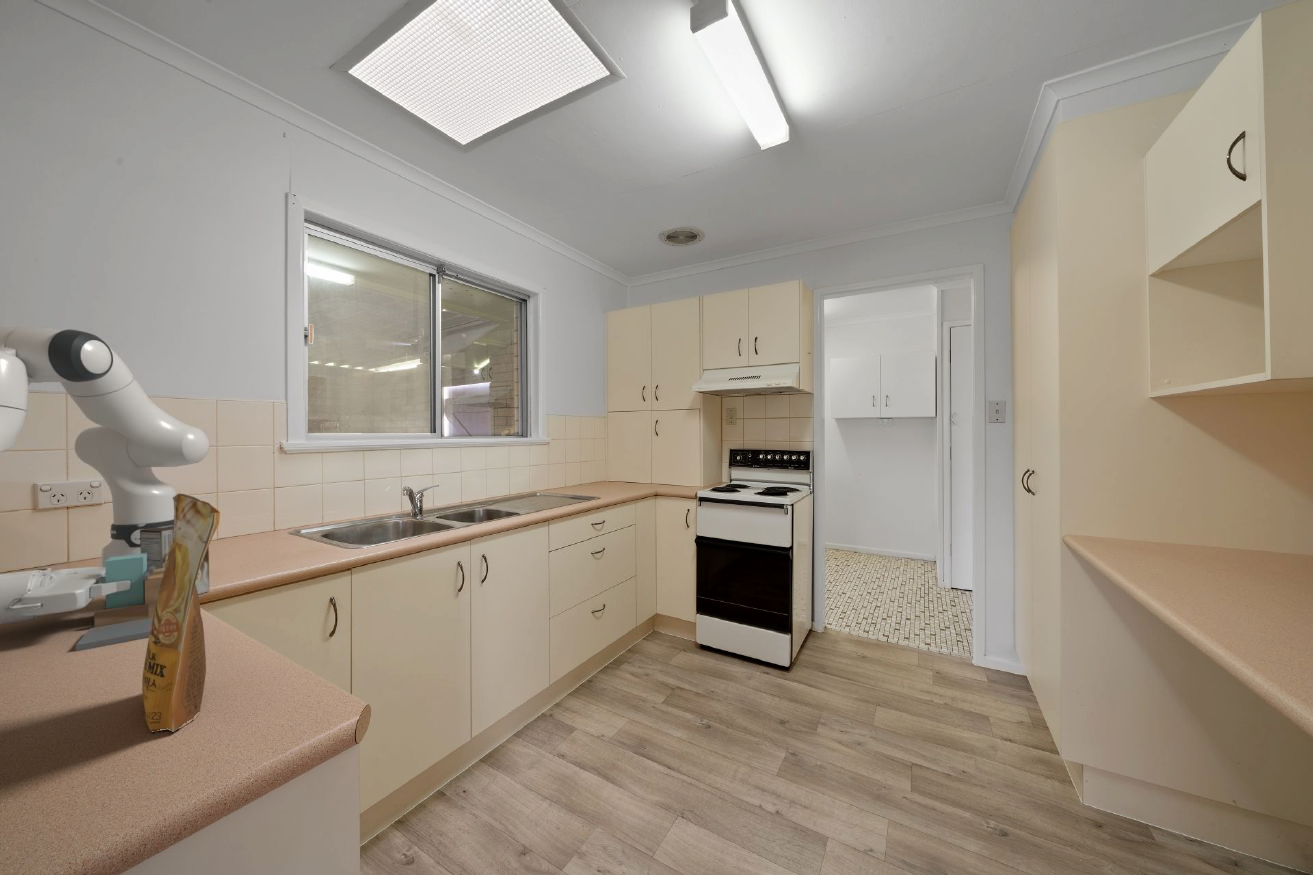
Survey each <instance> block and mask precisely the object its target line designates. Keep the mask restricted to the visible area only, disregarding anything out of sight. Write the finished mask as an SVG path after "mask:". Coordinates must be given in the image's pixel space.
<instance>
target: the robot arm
mask: <svg viewBox="0 0 1313 875" xmlns="http://www.w3.org/2000/svg"><path fill="white" fill-rule="evenodd" d="M32 383H34V384H35V383H37V384H38V383H39V384H41V383H60V384H61V386H62V387H63V389H64V390H65V391H66V393H67V394H68V395H69V396H70V398H71V399H72V400H73V402H74V404H75V405H76V406H77V407H78V408H79V409H80V411H81V412H82V413H83V415H84V416H85V417H86V418H87V419H88V420H89V421H91V422H93V423H94V424H97V425H98V426H92V427H89V428H86V429H84V430H82V431H80V433H79V434H78V435H77V438H75V441H74V452H75V454H76V455H77V456H76V457H78V458H79V459H80V460H81V461H82V462H83V463H84V464H86V465H89V466H90V467H91V468H93V469H95V471H97V473H99V475H101V477H102V478H103V480H104V481H105V482H106V485H107V486H108V488H109V491H110V494H111V499H112V514H113V516H112V517H113V523H112V524H111V525H110V530H109V532H110V539H111V541H110V542H109V543H108V544H107V545H105V546H104V547H102V549H101V555H100V556H101V557H100V558H101V559H100V566H88V567H87V566H85V567H84V566H83V567H75V568H72V567H71V568H61V569H55V570H52V568H51V567H43V568H38V569H32V570H25V571H24V570H23V571H16V572H7V573H0V625H4V624H11V623H17V622H24V621H30V620H34V619H37V618H38V617H39V616H43V615H51V614H57V613H58V614H59V613H60V614H61V613H65V612H72V611H78V610H81V609H84V608H86V607H87V605H88V604H90V603H91V602H92V601H93V600H94V598H96V597H101V596H102V597H103V596H106V595H107V594H110V593H114V592H118V591H125V590H128V589H130V587H131V580H129V579H128V580H120V581H117V582H112V583H106V569H105V561H106V560H108V559H109V558H110V557H117V556H126V555H135V554H141V549H140V530H142V529H149V528H155V527H161V526H167V525H174V501H173V497H174V496H176V495H177V492H176V489H175V488H174V487H173V485H171V484H169V483H168V482H167V483H166V482H164V481H162V480H160V479H159V478H158V477H157V476H156V475H155V474H154V472H153V469H152V468H169V467H171V468H173V467H176V468H177V467H181V466H189V465H193V464H198V463H200V462H202V461H203V460H204V459H205V458H206V457H207V455H208V453H209V452H210V451H209V450H210V447H211V446H210V440H209V438H208V436H207V435H206V433H205V432H204V431H203V430H202V429H200V428H199V427H195V426H193V425H190V424H189V423H188V424H187V423H185V422H182V421H181V420H179V419H177V418H175V417H174V416H172V415H170V414H169V413H168V412H166V411H165V410H163V409H162V408H160V406H158V405H157V404H155V402H154V401H153V400H152V399H151V398H150V397H149V396H148V395H147V393H146V392H145V390H144V389H143V388H142V386H141V385H140V383H139V382H138V380H137V379H136V378H135V375H133V373H132V371H131V369H129V367H128V366H127V365H126V363H125V362H124V360H123V359H121V357H120V356H119V355H118V353H116V352H115V351H114V349H112V348H111V347H110V346H109V345H108V344H107V343H106V342H105V341H104V340H103V339H102V338H100V337H99V336H97V335H96V334H93V333H89V332H86V331H83V330H77V329H60V328H54V327H43V326H23V327H22V326H7V327H6V326H4V327H3V326H0V454H2V453H5V452H6V451H7V450H9V449H11V448H12V447H14V445H15V444H16V442H17V441H18V439H19V437H20V435H21V432H22V431H23V428H24V425H25V421H26V417H27V416H26V415H27V410H28V409H27V408H28V403H29V386H30V385H31V384H32Z"/></svg>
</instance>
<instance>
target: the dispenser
mask: <svg viewBox="0 0 1313 875" xmlns="http://www.w3.org/2000/svg"><path fill="white" fill-rule="evenodd" d="M164 572H165V568H159V569H155V565H153V566H151V567H150V568H149V569H148V570H147V571H146V573H145V574H144V575H143V581H144V580H145V604H139V605H132V606H126V607H119V608H113V609H107V610H106V600H105V602H104V609H103V610H95V611H94V613H93V614H94V628H95V627H101V626H107V625H113V624H118V623H124V622H130V621H136V620H142V619H148V618H153V616H154V611H155V606H156V601H157V597H158V593H159V589H160V585H161V582H162V578H163V575H164Z"/></svg>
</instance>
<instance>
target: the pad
mask: <svg viewBox="0 0 1313 875" xmlns="http://www.w3.org/2000/svg"><path fill="white" fill-rule="evenodd" d="M152 621H153V618H148V619H142V620H136V621H130V622H124V623H118V624H113V625H107V626H101V627H95V626H94V627H91V628H88V630H87V631H86V633H85V634H84V635H83V636H82V637H81V638H80V640H79V641H77V643H76V644H75V651H76V652H79V651H81V650H82V651H83V650H88V649H93V648H98V647H103V646H104V647H105V646H109V645H115V644H121V643H125V642H129V641H136V640H140V639H141V640H142V639H146V638H149V635H150V630H151V625H152Z"/></svg>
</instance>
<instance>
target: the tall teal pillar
mask: <svg viewBox="0 0 1313 875" xmlns="http://www.w3.org/2000/svg"><path fill="white" fill-rule="evenodd" d="M105 569H106V583H112V582H117V581H120V580H128V579H129V580H131V587H130V589H128V590H125V591H118V592H114V593H110V594H107V595H105V601H106V610H107V609H113V608H119V607H126V606H132V605H139V604H145V580H144V581H143V575H144V574H145V573H146V571H147V553H144V554H135V555H126V556H117V557H110V558H109V559H108V560H106V561H105Z"/></svg>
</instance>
